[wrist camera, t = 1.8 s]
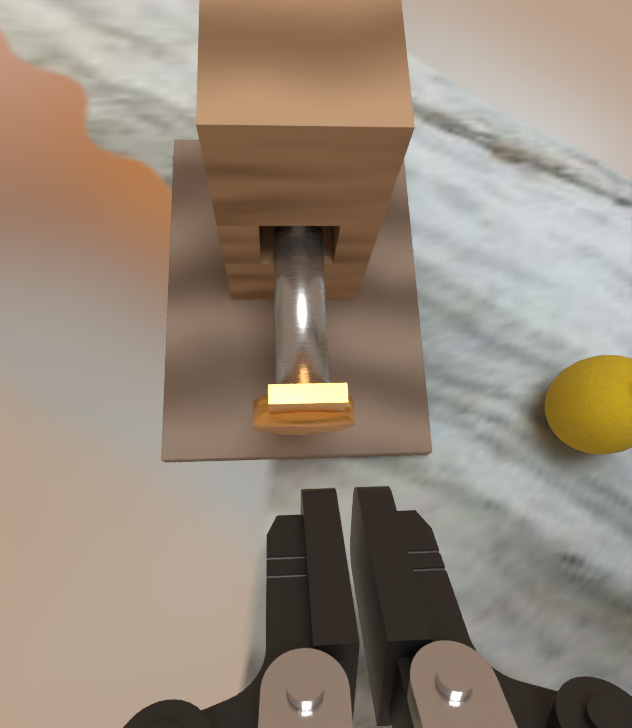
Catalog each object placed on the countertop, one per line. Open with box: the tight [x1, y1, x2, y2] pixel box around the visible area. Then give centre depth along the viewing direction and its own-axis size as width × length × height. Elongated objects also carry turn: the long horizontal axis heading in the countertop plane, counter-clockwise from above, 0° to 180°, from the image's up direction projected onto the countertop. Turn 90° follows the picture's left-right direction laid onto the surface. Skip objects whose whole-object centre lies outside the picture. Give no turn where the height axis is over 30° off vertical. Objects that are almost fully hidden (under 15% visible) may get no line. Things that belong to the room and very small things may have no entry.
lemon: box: [545, 355, 632, 454], centre depth 32 cm, size 6×6×8 cm
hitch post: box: [161, 0, 432, 462], centre depth 29 cm, size 22×16×17 cm
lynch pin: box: [253, 226, 355, 435], centre depth 27 cm, size 12×5×7 cm, turn 2°
